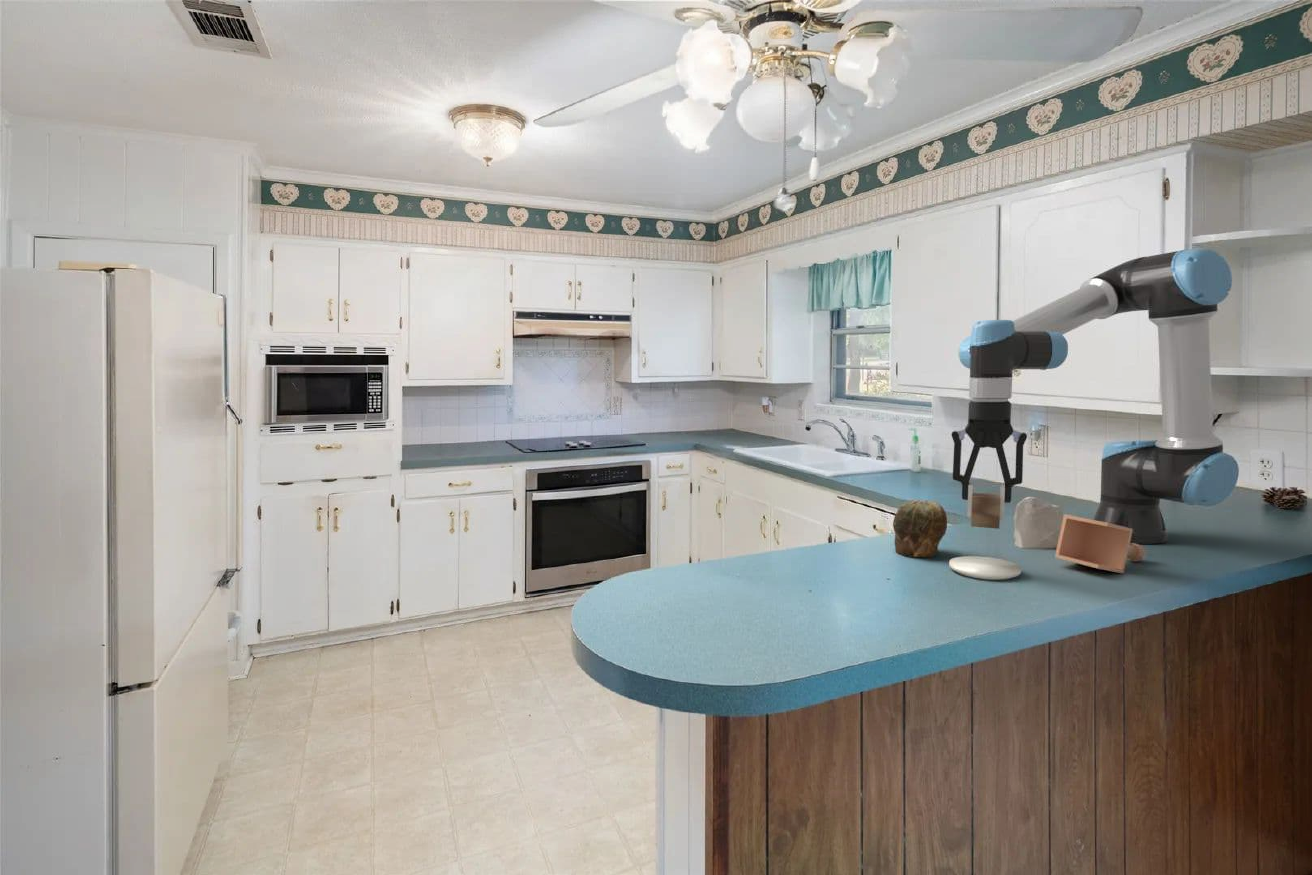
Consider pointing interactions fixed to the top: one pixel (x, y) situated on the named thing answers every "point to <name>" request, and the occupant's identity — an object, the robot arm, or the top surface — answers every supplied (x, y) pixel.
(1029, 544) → the stone
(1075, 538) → the cover
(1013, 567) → the dish
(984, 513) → the block
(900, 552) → the brown rounded lump
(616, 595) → the top surface
